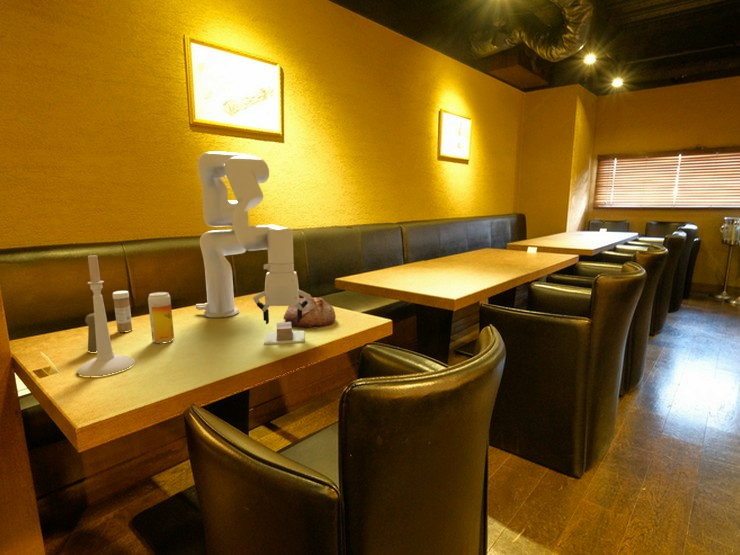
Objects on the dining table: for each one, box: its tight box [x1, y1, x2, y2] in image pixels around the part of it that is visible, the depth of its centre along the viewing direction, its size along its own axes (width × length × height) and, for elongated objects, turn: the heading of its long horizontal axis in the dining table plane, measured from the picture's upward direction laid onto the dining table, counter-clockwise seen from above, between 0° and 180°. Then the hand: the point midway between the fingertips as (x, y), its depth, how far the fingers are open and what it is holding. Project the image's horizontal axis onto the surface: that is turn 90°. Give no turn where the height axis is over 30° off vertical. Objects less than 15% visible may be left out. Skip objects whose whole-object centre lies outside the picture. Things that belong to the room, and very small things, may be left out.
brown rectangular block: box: [276, 321, 293, 340], centre depth 133 cm, size 7×4×4 cm, turn 12°
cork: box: [85, 312, 108, 352], centre depth 124 cm, size 6×6×11 cm
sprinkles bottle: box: [112, 290, 133, 333], centre depth 141 cm, size 5×5×13 cm
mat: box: [263, 330, 305, 346], centre depth 133 cm, size 12×10×1 cm
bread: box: [283, 296, 337, 329], centre depth 151 cm, size 16×20×10 cm
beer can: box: [147, 291, 175, 344], centre depth 131 cm, size 6×6×15 cm
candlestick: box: [76, 253, 136, 377], centre depth 109 cm, size 13×13×30 cm
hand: (283, 322), depth 133 cm, fingers open, 9 cm apart
